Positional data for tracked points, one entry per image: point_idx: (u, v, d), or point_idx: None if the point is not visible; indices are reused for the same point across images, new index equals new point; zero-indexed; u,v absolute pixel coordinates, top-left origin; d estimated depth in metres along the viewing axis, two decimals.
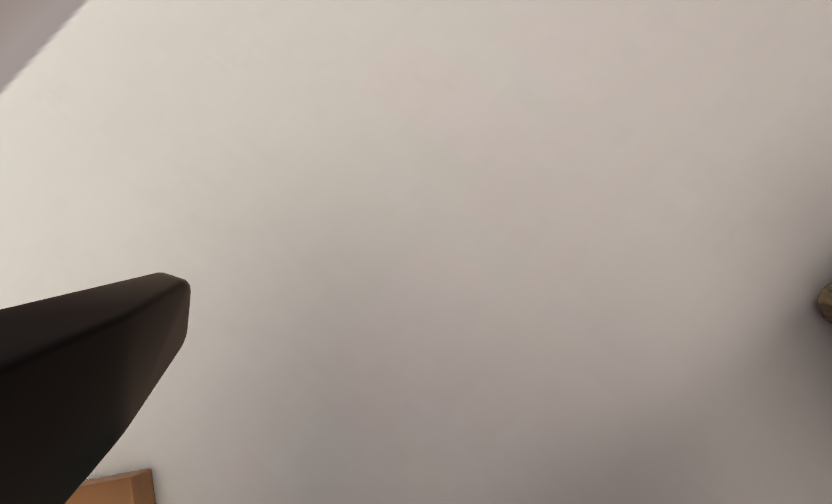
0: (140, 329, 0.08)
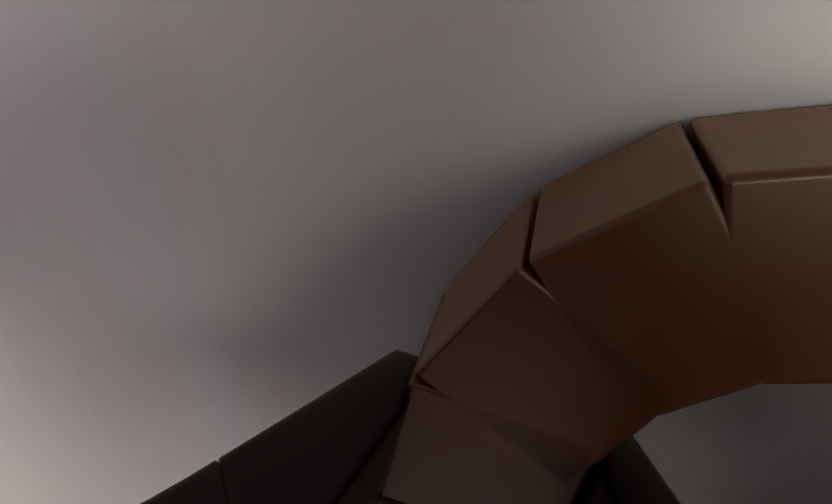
0: (403, 418, 0.08)
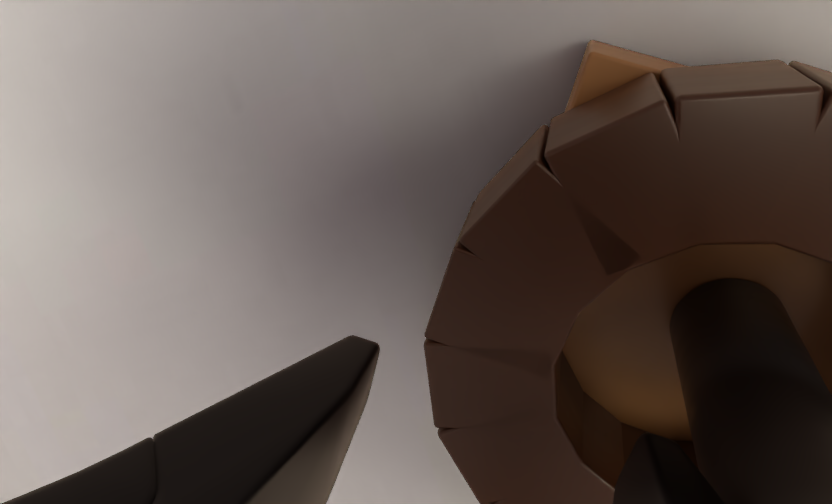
0: (353, 401, 0.08)
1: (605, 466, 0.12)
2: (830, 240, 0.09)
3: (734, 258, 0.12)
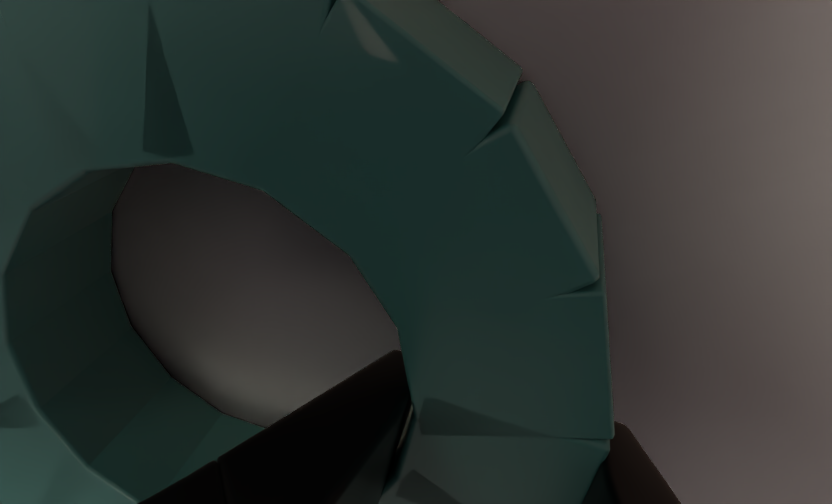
0: (402, 418, 0.08)
1: None
2: None
3: None
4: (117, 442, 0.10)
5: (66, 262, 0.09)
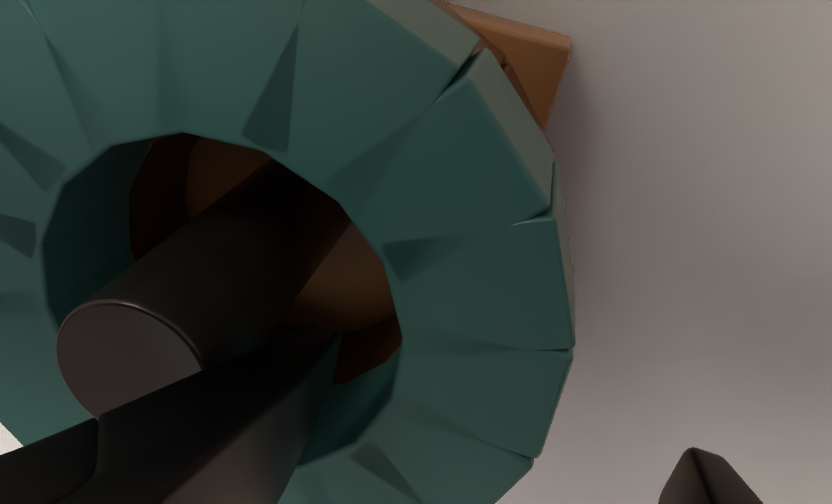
0: (310, 387, 0.08)
1: (393, 343, 0.12)
2: None
3: None
4: None
5: (92, 236, 0.11)
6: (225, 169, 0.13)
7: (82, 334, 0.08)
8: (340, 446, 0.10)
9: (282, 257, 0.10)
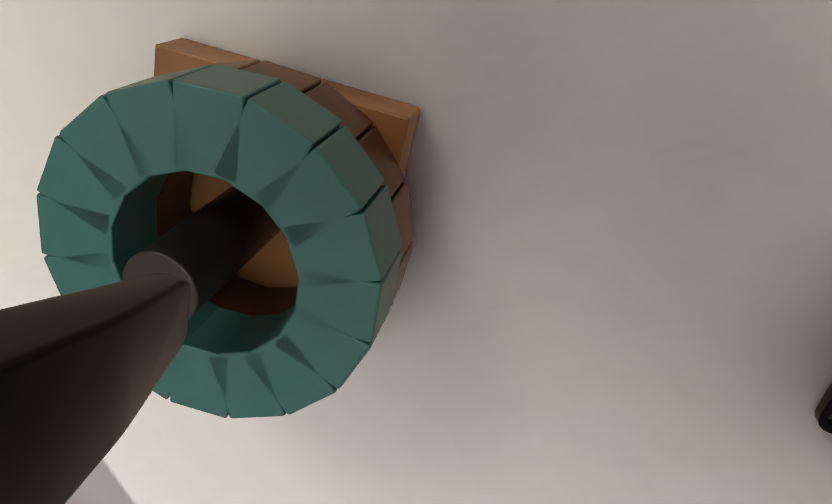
0: (140, 329, 0.08)
1: None
2: None
3: None
4: None
5: (136, 223, 0.19)
6: (214, 185, 0.22)
7: (136, 268, 0.16)
8: (270, 339, 0.18)
9: (239, 235, 0.18)
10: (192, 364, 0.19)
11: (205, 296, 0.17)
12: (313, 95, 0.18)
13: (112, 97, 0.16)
